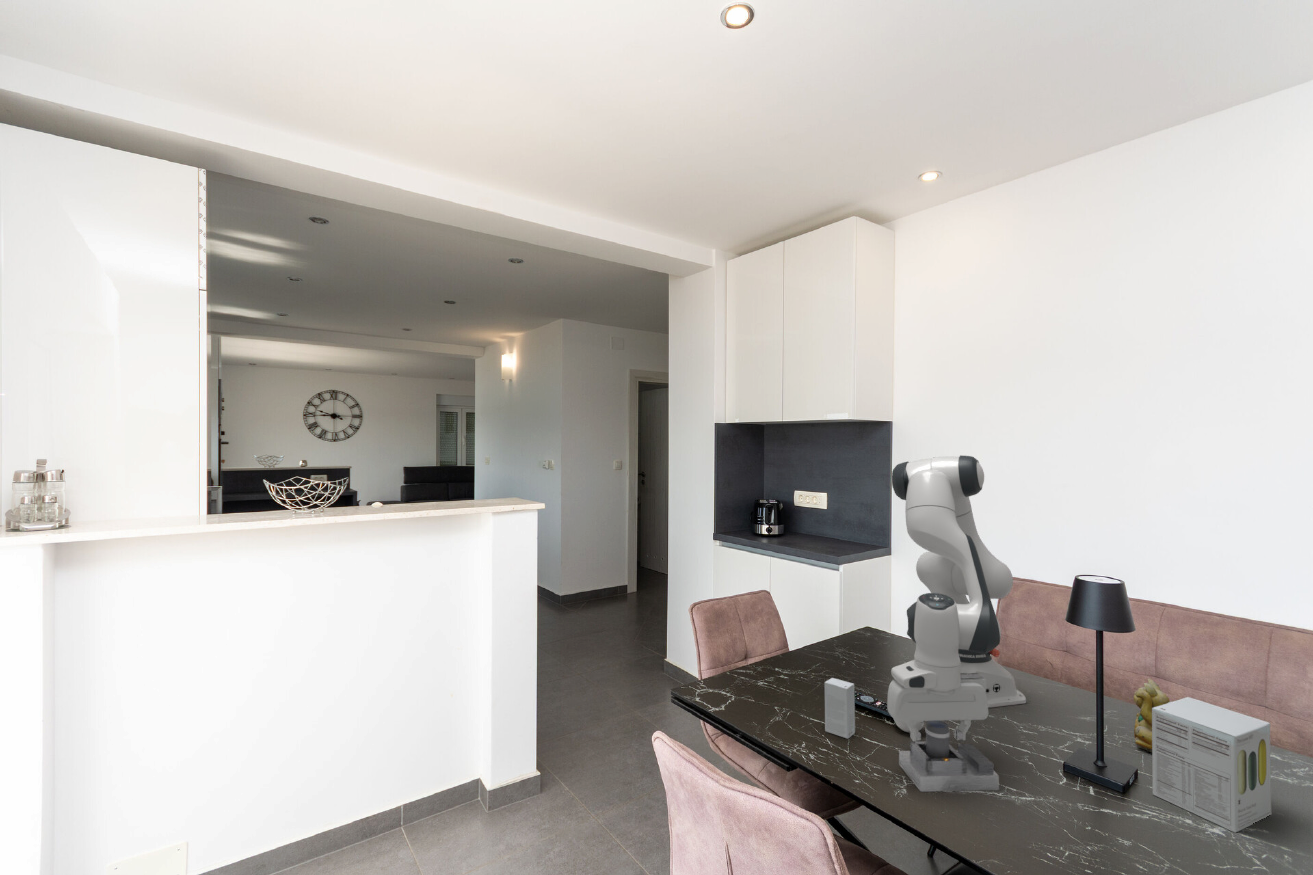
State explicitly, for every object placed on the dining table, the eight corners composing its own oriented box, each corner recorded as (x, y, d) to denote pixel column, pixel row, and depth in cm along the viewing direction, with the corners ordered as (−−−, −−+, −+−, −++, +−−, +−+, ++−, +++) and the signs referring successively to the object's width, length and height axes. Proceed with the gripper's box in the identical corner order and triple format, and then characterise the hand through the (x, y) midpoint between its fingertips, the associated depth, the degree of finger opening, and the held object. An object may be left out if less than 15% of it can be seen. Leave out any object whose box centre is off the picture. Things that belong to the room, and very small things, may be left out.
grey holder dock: (971, 763, 130) (971, 737, 130) (998, 790, 120) (998, 761, 120) (899, 764, 129) (898, 738, 130) (920, 791, 119) (920, 762, 120)
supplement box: (1236, 834, 106) (1235, 736, 106) (1151, 794, 118) (1149, 706, 118) (1273, 816, 111) (1272, 722, 112) (1188, 779, 124) (1187, 695, 124)
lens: (942, 756, 127) (942, 718, 127) (954, 768, 122) (953, 728, 123) (921, 757, 127) (921, 718, 127) (932, 768, 122) (931, 728, 122)
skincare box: (855, 733, 144) (855, 683, 144) (847, 739, 141) (847, 688, 141) (832, 725, 148) (831, 676, 148) (824, 731, 145) (823, 681, 145)
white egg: (919, 741, 140) (919, 710, 140) (888, 731, 145) (887, 701, 145) (933, 726, 147) (933, 697, 147) (903, 717, 152) (902, 688, 152)
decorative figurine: (1136, 735, 142) (1136, 672, 143) (1182, 747, 136) (1181, 682, 137) (1130, 749, 136) (1129, 684, 136) (1178, 763, 130) (1177, 694, 130)
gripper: (977, 667, 128) (977, 731, 128) (883, 668, 128) (884, 733, 128) (994, 678, 122) (995, 746, 122) (896, 680, 121) (897, 748, 121)
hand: (937, 739), depth 125 cm, fingers open, 8 cm apart
